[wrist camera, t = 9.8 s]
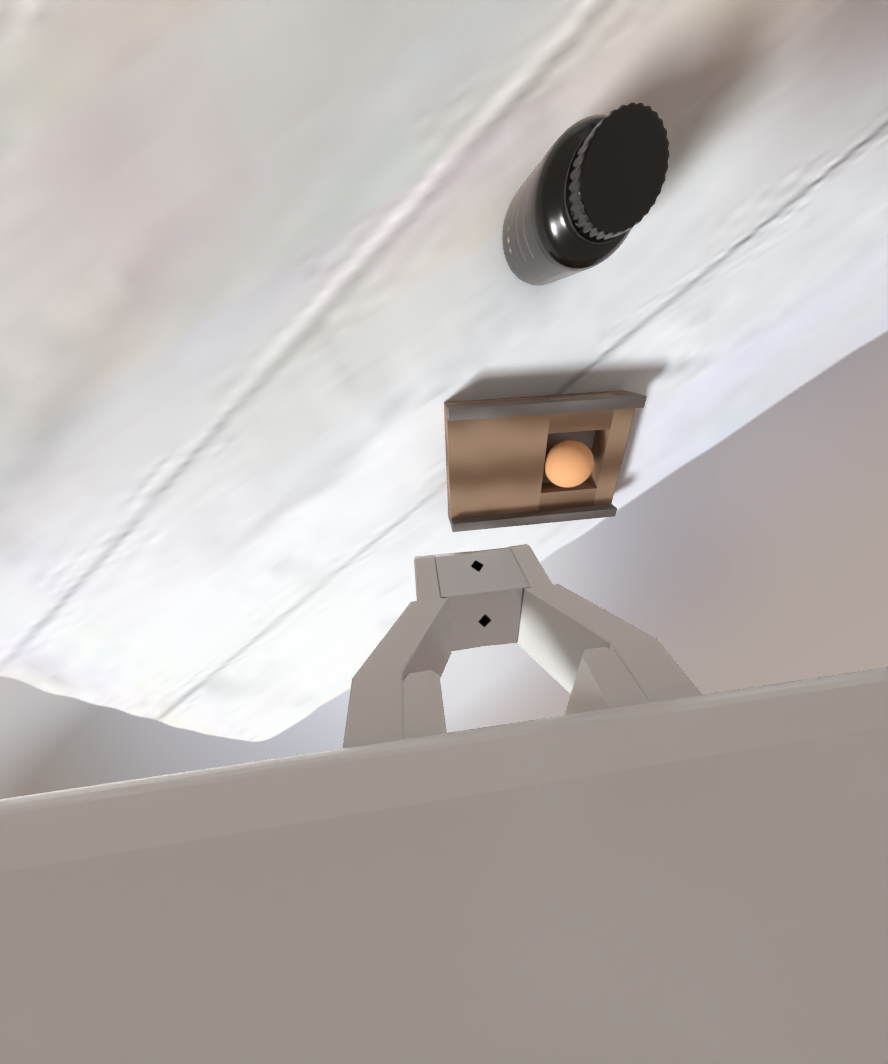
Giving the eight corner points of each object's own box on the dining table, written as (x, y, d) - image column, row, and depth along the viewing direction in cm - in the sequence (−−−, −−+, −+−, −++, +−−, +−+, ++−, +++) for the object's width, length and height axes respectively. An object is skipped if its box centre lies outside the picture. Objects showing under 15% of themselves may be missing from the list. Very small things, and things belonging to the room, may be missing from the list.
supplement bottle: (579, 163, 25) (703, 44, 15) (582, 272, 28) (683, 238, 18) (492, 191, 25) (555, 93, 15) (506, 296, 29) (565, 275, 19)
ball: (600, 436, 35) (552, 434, 37) (593, 447, 31) (540, 444, 33) (593, 481, 37) (548, 476, 39) (586, 497, 33) (537, 491, 35)
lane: (444, 402, 33) (448, 409, 30) (623, 390, 34) (646, 396, 31) (448, 516, 39) (452, 532, 36) (598, 502, 41) (614, 516, 38)
